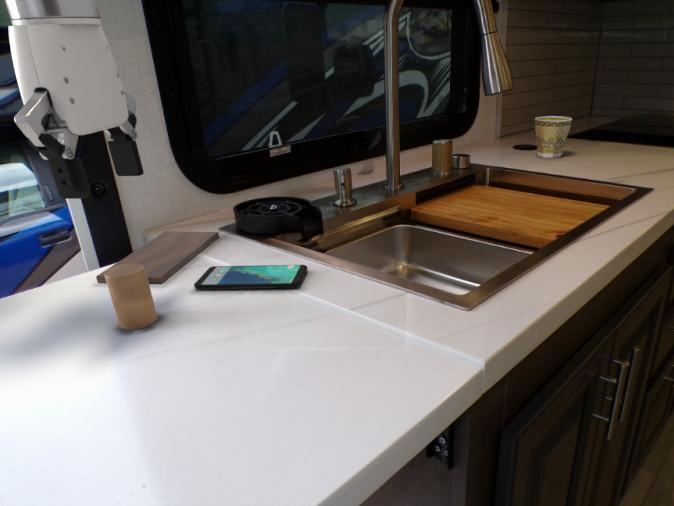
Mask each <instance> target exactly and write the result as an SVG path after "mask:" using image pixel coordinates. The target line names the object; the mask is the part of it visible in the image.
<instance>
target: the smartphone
mask: <svg viewBox="0 0 674 506" xmlns="http://www.w3.org/2000/svg"><path fill="white" fill-rule="evenodd" d="M307 270H308V265H306V264H263V265H262V264H260V265H213V266H210V267H208V268H207V269H206V271H205V272H204V273H203V274H202V275H201V276H200V277H199V278H198V279H197V280H196V281H195V282H194V284H193V287H194V288H195V289H197V290H221V289H223V290H225V289H227V290H228V289H229V290H231V289H232V290H233V289H289V288H290V289H291V288H293V289H294V288H298V287H299V286H300V285H301V283H302V281H303V279H304V277H305V275H306V273H307Z"/></svg>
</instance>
